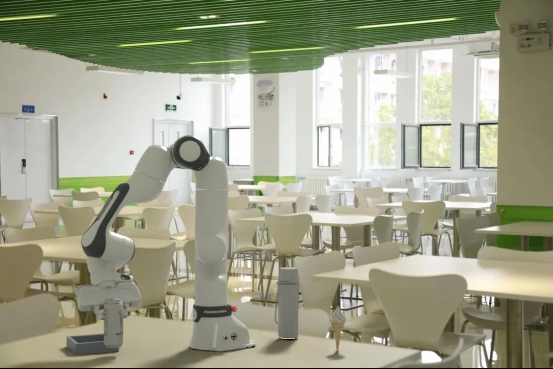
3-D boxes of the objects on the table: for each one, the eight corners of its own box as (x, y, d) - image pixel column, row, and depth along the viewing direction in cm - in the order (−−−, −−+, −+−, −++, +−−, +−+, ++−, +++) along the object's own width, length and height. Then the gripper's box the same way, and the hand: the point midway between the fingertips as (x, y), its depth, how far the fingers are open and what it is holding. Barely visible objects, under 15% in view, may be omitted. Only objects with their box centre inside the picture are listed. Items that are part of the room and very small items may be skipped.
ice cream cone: (336, 348, 268) (337, 303, 268) (349, 350, 264) (349, 305, 264) (325, 350, 264) (326, 305, 264) (338, 353, 260) (338, 307, 260)
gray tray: (108, 343, 272) (108, 333, 272) (118, 351, 260) (118, 340, 260) (66, 346, 266) (66, 336, 266) (75, 354, 254) (75, 343, 254)
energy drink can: (120, 348, 250) (120, 300, 250) (101, 348, 250) (101, 300, 250) (125, 344, 256) (124, 297, 256) (106, 344, 256) (106, 297, 256)
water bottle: (302, 337, 286) (303, 267, 286) (291, 341, 279) (291, 269, 279) (280, 335, 290) (281, 266, 291) (269, 338, 284) (269, 268, 284)
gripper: (75, 279, 254) (82, 314, 246) (137, 275, 263) (146, 309, 255) (72, 292, 258) (79, 327, 250) (133, 287, 267) (142, 321, 259)
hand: (113, 318), depth 252 cm, fingers closed on energy drink can, 6 cm apart
